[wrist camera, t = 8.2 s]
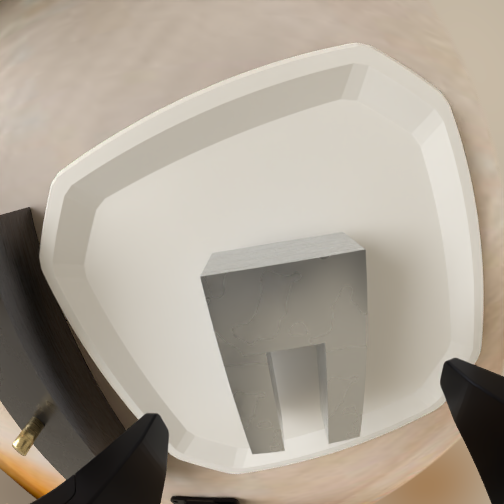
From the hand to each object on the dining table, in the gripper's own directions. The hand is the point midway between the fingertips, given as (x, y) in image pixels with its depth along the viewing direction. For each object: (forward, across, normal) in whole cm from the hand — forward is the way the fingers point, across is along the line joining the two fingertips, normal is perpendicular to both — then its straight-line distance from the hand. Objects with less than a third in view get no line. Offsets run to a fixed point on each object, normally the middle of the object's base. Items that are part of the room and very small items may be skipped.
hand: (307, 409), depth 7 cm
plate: (+7, 0, 0) cm, 7 cm away
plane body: (+6, +16, +2) cm, 17 cm away
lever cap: (+5, 0, +1) cm, 5 cm away
